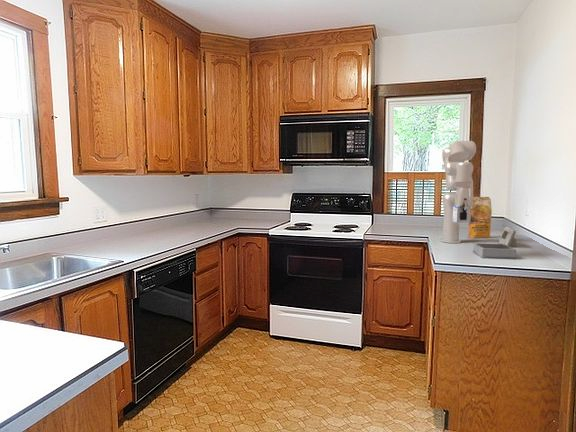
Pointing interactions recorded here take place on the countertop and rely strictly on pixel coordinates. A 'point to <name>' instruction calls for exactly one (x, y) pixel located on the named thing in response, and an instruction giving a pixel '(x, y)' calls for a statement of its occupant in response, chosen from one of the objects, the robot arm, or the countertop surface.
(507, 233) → the digital clock
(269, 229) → the countertop surface
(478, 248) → the bin
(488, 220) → the pancake mix bag
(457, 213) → the medicine box
